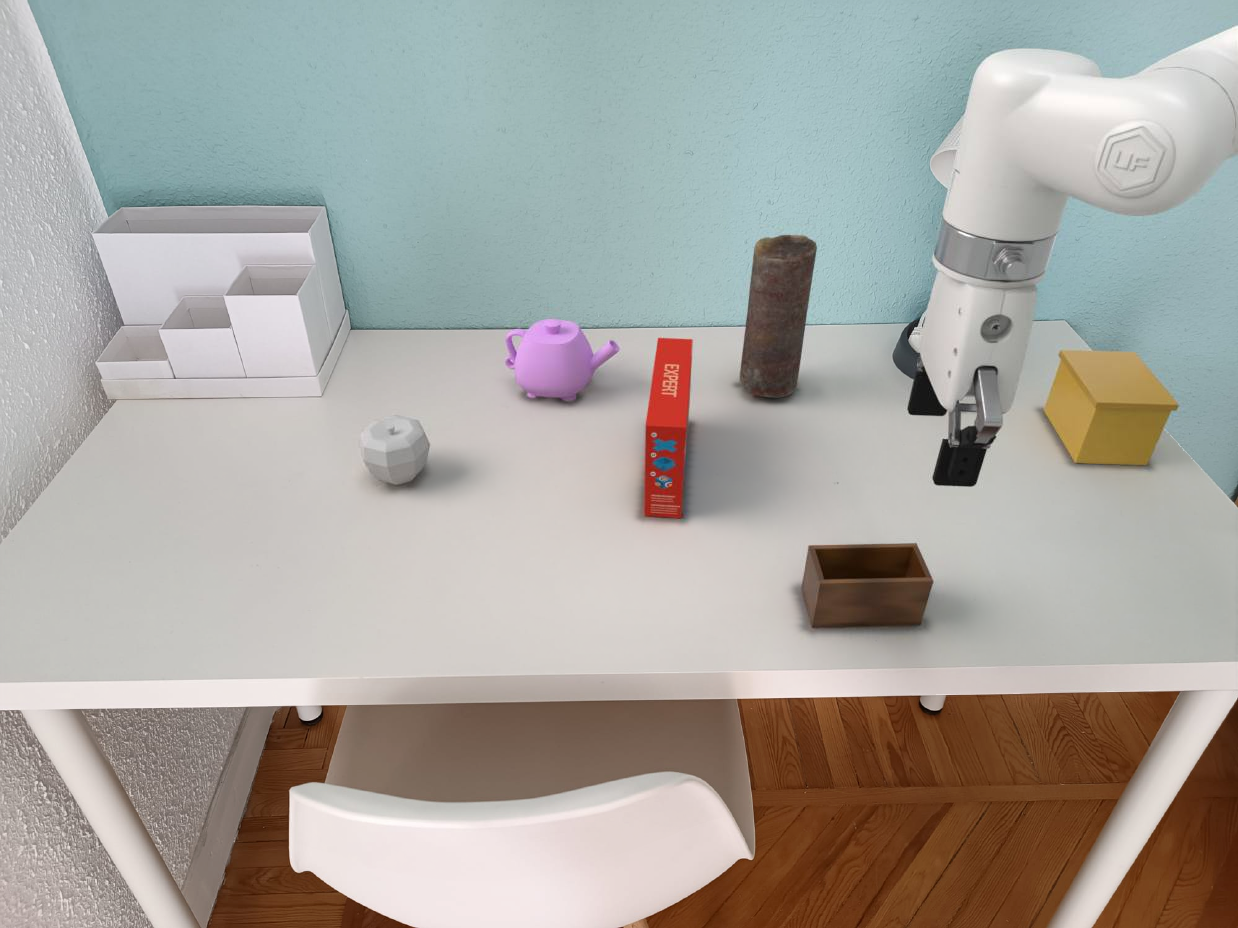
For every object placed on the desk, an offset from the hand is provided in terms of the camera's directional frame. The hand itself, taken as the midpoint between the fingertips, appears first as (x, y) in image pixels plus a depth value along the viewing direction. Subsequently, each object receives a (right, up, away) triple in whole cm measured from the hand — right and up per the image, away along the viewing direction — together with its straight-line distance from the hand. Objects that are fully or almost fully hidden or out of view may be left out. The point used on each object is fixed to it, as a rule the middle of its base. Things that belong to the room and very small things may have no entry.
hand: (938, 447), depth 71 cm
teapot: (-33, +8, +42) cm, 54 cm away
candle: (-7, +8, +41) cm, 43 cm away
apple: (-51, -3, +27) cm, 58 cm away
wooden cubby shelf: (-4, -15, +11) cm, 18 cm away
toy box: (-20, -2, +28) cm, 35 cm away
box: (+30, +2, +33) cm, 45 cm away
